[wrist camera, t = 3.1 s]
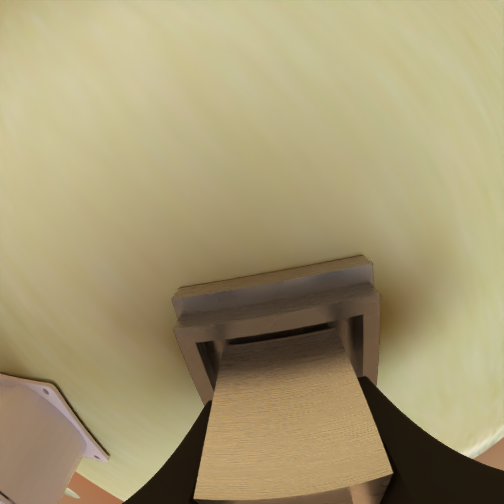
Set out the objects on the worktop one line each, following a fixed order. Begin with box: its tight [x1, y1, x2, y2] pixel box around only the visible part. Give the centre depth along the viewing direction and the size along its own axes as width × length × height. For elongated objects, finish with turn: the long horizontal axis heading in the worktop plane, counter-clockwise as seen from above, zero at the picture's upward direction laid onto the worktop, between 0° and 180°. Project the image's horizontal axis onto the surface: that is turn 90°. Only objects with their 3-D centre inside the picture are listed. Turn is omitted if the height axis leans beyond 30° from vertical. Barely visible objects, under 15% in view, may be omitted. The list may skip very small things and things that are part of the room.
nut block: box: [194, 328, 393, 504], centre depth 7 cm, size 4×4×6 cm
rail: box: [172, 255, 380, 406], centre depth 12 cm, size 7×20×2 cm, turn 11°
